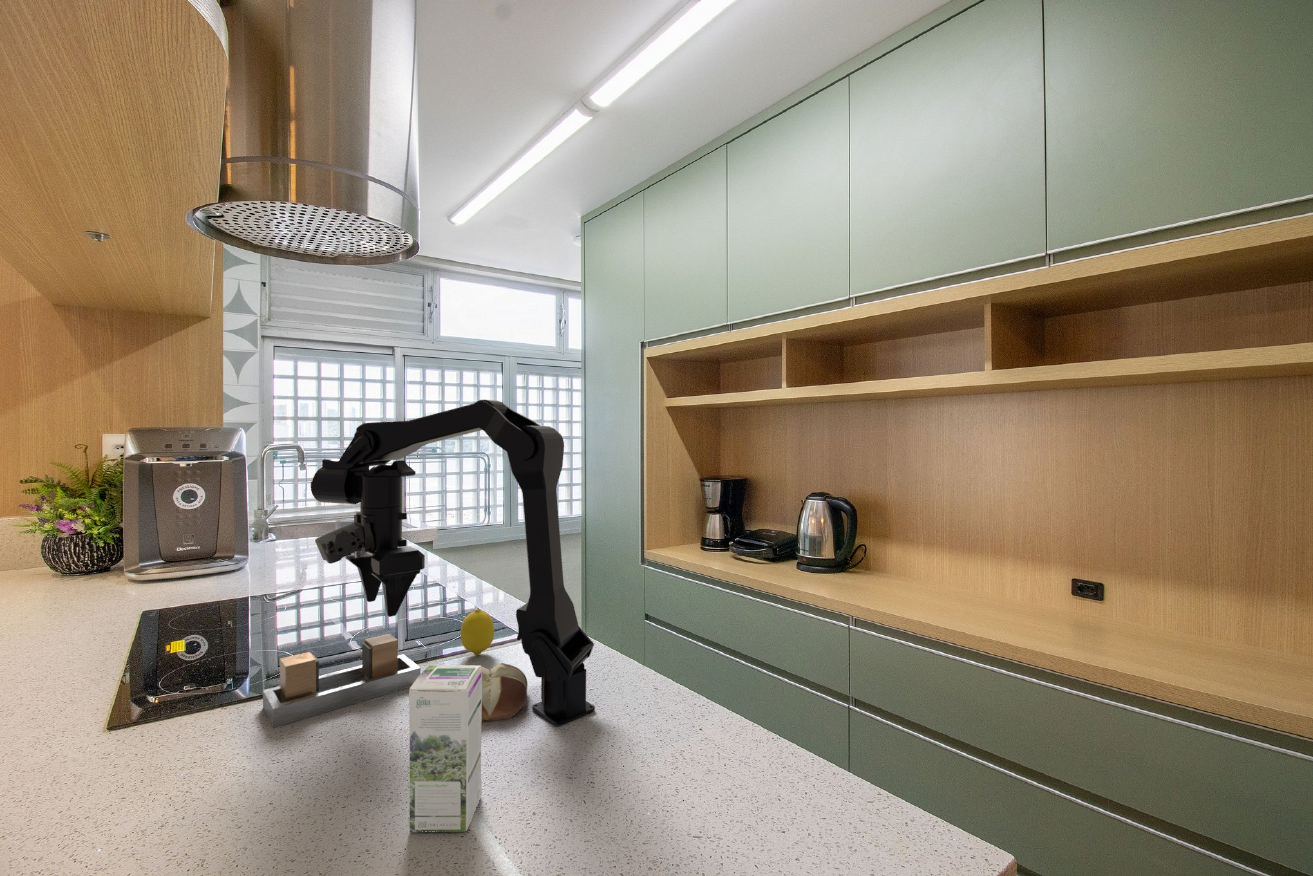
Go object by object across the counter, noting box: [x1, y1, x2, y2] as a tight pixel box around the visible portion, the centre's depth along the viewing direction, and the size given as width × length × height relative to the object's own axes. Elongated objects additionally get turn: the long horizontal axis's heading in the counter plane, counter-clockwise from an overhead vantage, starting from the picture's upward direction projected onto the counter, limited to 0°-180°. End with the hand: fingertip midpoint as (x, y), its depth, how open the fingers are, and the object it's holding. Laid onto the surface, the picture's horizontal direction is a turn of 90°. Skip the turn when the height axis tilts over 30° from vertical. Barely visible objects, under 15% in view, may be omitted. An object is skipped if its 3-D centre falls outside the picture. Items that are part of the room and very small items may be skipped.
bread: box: [481, 662, 528, 722], centre depth 82 cm, size 11×11×5 cm
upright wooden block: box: [361, 633, 399, 680], centre depth 87 cm, size 4×4×6 cm
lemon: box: [460, 608, 495, 656], centre depth 99 cm, size 6×6×8 cm
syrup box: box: [408, 665, 483, 833], centre depth 58 cm, size 6×6×14 cm
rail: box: [262, 651, 421, 728], centre depth 84 cm, size 7×19×7 cm, turn 133°
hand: (381, 608), depth 87 cm, fingers open, 9 cm apart
